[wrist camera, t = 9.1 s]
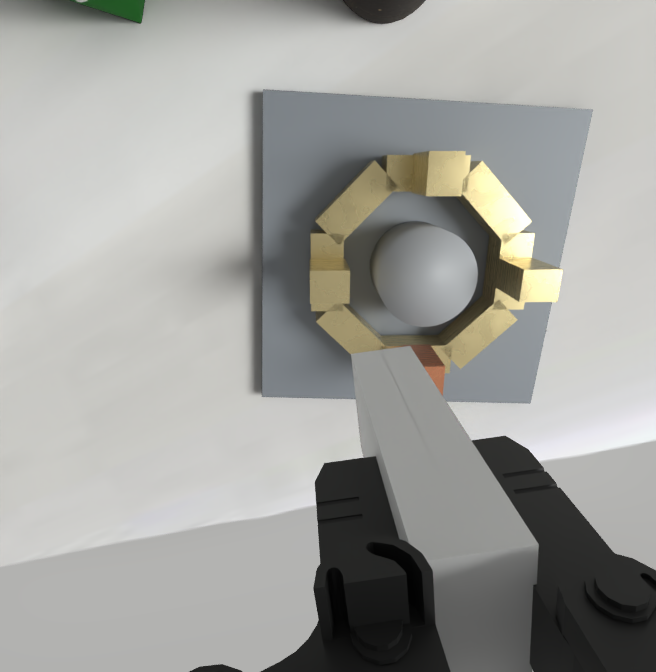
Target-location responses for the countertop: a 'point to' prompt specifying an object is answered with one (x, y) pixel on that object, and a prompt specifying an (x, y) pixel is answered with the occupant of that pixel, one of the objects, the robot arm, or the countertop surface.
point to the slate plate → (336, 158)
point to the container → (383, 9)
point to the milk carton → (118, 7)
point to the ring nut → (500, 273)
